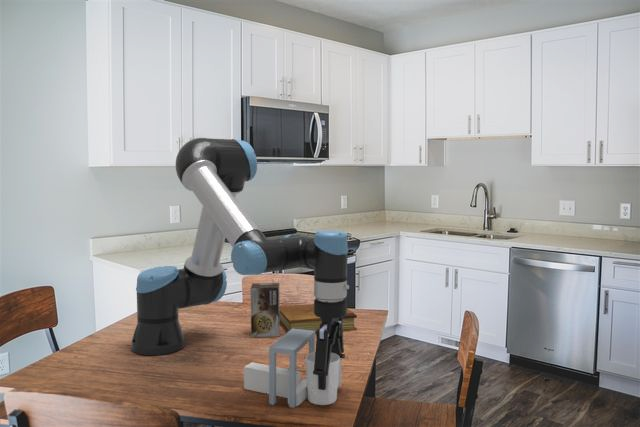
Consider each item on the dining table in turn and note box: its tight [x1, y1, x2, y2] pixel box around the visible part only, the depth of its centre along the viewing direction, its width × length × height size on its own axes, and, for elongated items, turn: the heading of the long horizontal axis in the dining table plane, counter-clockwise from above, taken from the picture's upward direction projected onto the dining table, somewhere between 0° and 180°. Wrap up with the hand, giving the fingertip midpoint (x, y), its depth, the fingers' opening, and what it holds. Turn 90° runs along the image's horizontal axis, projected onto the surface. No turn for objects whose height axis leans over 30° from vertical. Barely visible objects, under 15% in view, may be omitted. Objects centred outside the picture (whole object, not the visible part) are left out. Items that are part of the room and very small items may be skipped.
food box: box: [249, 282, 281, 338], centre depth 171 cm, size 9×6×16 cm
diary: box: [280, 303, 358, 335], centre depth 183 cm, size 23×19×6 cm
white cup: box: [305, 351, 341, 406], centre depth 123 cm, size 8×8×10 cm
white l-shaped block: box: [243, 361, 308, 407], centre depth 127 cm, size 16×9×6 cm, turn 65°
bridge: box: [268, 328, 316, 409], centre depth 126 cm, size 6×15×13 cm, turn 163°
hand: (329, 393), depth 124 cm, fingers open, 9 cm apart
